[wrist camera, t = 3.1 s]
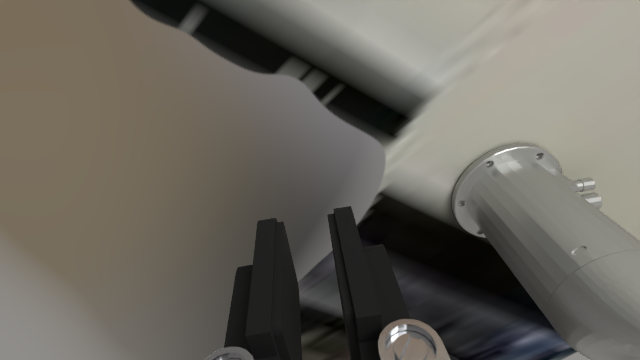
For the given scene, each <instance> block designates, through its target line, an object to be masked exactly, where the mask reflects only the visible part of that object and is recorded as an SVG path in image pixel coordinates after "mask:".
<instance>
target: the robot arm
mask: <svg viewBox="0 0 640 360" xmlns="http://www.w3.org/2000/svg"><path fill="white" fill-rule="evenodd" d="M594 188H595V181H594V180H593V179H592V178H585V179H579V180H576V181H572V180H570V179H568V178H567V177H566V176H564V175H563V174H562V168H561V166H560V164H559V162H558V160H557V159H556V158H555V157H554V156H553V155H552V154H551V153H549V152H548V151H547V150H545V149H543V148H541V147H539V146H537V145H532V144H524V143H517V144H511V145H506V146H502V147H499V148H496V149H494V150H492V151H490V152H488V153H486V154H484V155H483V156H482V157H480V158H479V159H477V160H476V161H475V162H474V163H472V164H471V165H470V166H469V167H468V168H467V169H466V171H465V172H464V173H463V174H462V175H461V177H460V179H459V180H458V182H457V184H456V186H455V189H454V192H453V195H452V211H453V213H454V216H455V218H456V220H457V221H458V223H459V224H460V225H461V226H462V227H463V229H464V230H466V231H467V232H469V233H471V234H473V235H475V236H478V237H484V238H487V239H488V240H489V242H490V243H491V244H492V246H493V247H494V248H495V250H496V251H497V252H498V254H499V255H500V256H501V258H502V259H503V260H504V262H505V263H506V264H507V266H508V267H509V268H510V270H511V271H512V272H513V274H514V275H515V276H516V277H517V279H518V280H519V281H520V283H521V284H522V285H523V287H524V288H525V289H526V291H527V292H528V293H529V295H530V296H531V297H532V299H533V300H534V301H535V303H536V304H537V305H538V307H539V308H540V309H541V311H542V312H543V313H544V315H545V316H546V317H547V319H548V320H549V322H550V323H551V324H552V326H553V327H554V328H555V330H556V331H557V332H558V334H559V335H560V336H561V337H562V338H563V339H564V340H565V341H566V342H567V343H568V344H569V345H570V346H571V347H572V348H573V349H575V350H576V351H578V352H579V353H580V354H582V355H584V356H586V357H587V358H589V359H591V360H640V241H639V240H638V239H637V238H635V237H634V236H633V235H631V234H630V233H629V232H627V231H626V230H625V229H624V228H622V227H621V226H620V225H618V224H617V223H616V222H614V221H613V220H612V219H610V218H609V217H608V216H607V215H605V214H604V213H603V212H601V211H600V210H599V208H601V206H602V200H601V198H600V196H599V195H598V194H597V193H588V194H582V195H579V194H578V193H576V192H579V191H580V192H583V191H589V190H593V189H594ZM328 221H329V228H330V234H331V241H332V248H333V254H334V261H335V268H336V274H337V281H338V287H339V293H340V299H341V304H342V310H343V316H344V322H345V328H346V334H347V340H348V346H349V352H350V358H351V360H459V359H457V358H455V357H453V356H452V355H450V354H448V353H447V351H446V349H445V346H444V344H443V342H442V340H441V339H440V337H439V336H438V334H437V333H436V331H434V330H433V329H432V328H431V327H430V326H429V325H427V324H425V323H423V322H421V321H418V320H413V319H410V316H409V314H408V311H407V308H406V305H405V303H404V300H403V297H402V294H401V291H400V289H399V286H398V283H397V280H396V277H395V275H394V272H393V269H392V266H391V264H390V261H389V258H388V255H387V252H386V250H385V247H384V245H383V244H381V245H375V246H368V247H362V244H361V240H360V237H359V233H358V230H357V226H356V222H355V219H354V215H353V212H352V209H351V206H349V207H343V208H336V209H334V214H328ZM205 360H302V347H301V325H300V302H299V287H298V282H297V277H296V273H295V269H294V265H293V260H292V256H291V252H290V247H289V243H288V239H287V234H286V231H285V226H284V222H278V223H277V220H276V218H273V219H267V220H260V221H258V223H257V231H256V241H255V250H254V260H253V265H249V266H243V267H238V269H237V271H236V276H235V282H234V289H233V295H232V301H231V307H230V314H229V320H228V327H227V332H226V338H225V345H224V348H223V349H220V350H218V351H216V352H214V353H212V354H211V355H210V356H209V357H207V358H206V359H205Z"/></svg>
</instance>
